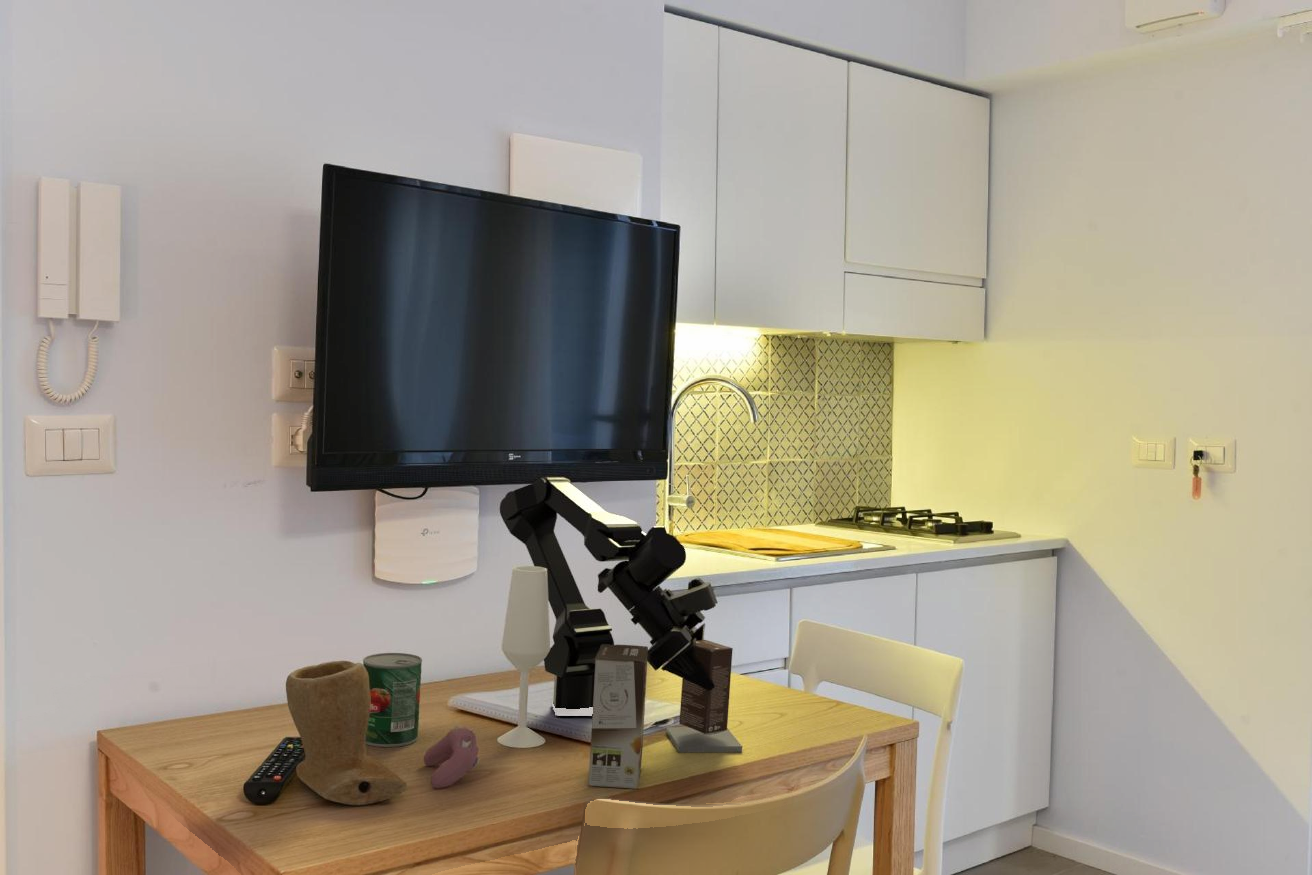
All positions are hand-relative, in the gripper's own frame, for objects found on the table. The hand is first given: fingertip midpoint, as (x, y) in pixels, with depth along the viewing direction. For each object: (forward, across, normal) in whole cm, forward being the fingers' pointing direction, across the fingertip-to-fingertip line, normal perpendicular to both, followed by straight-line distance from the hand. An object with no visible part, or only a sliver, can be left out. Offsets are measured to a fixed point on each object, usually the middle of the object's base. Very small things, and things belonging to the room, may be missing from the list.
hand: (715, 682), depth 161 cm
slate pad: (+5, 0, +7) cm, 9 cm away
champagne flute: (-12, -8, +25) cm, 28 cm away
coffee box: (-1, -18, +14) cm, 23 cm away
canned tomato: (-24, -13, +37) cm, 46 cm away
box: (+4, 0, +6) cm, 7 cm away
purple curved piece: (-15, -25, +28) cm, 40 cm away
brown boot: (-22, -34, +35) cm, 54 cm away
